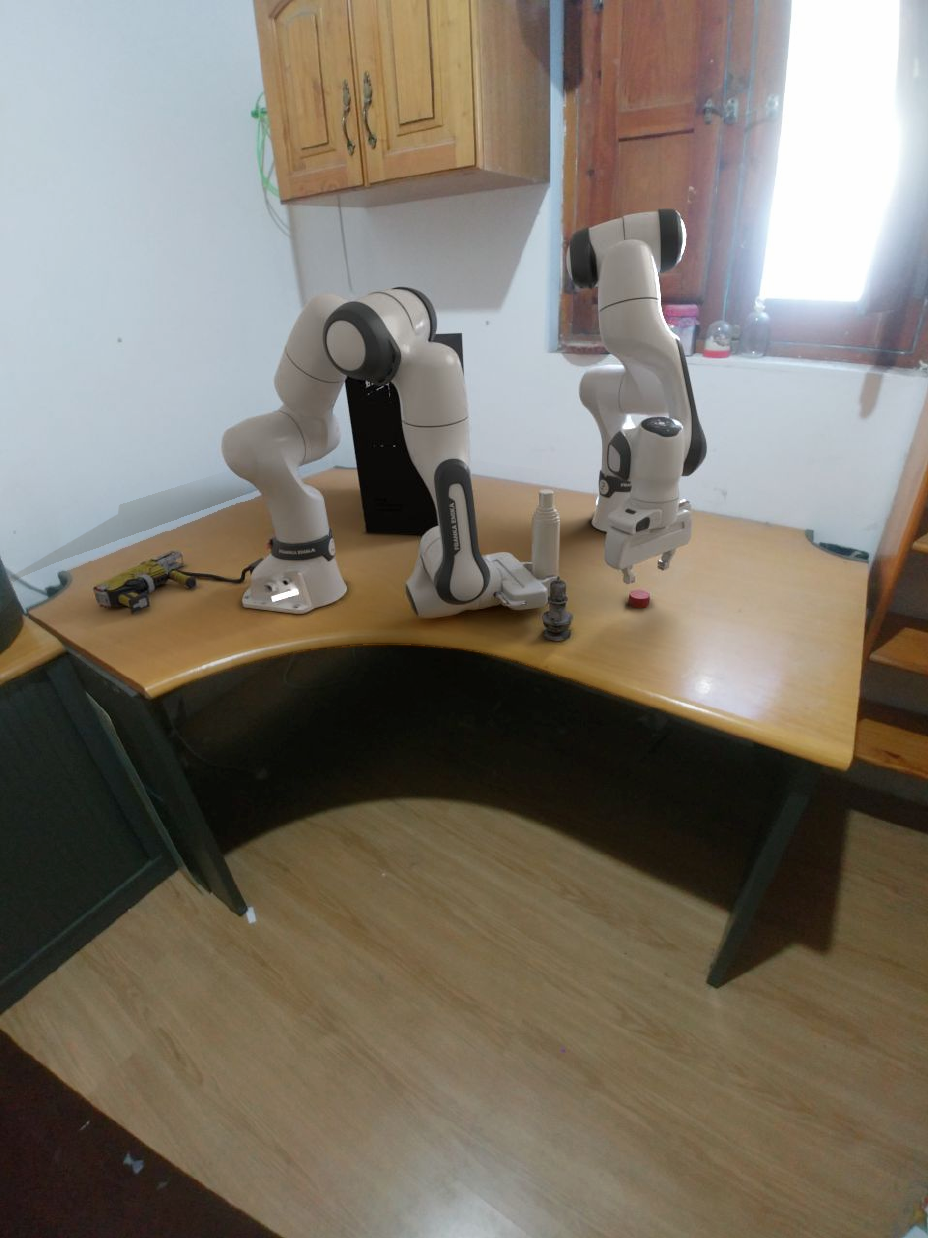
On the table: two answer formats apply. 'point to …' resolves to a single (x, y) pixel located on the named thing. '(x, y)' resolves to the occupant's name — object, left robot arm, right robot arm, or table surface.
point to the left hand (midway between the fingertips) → (548, 572)
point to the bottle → (545, 537)
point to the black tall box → (389, 457)
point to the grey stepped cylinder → (557, 613)
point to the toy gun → (141, 582)
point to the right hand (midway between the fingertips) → (646, 575)
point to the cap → (639, 598)
